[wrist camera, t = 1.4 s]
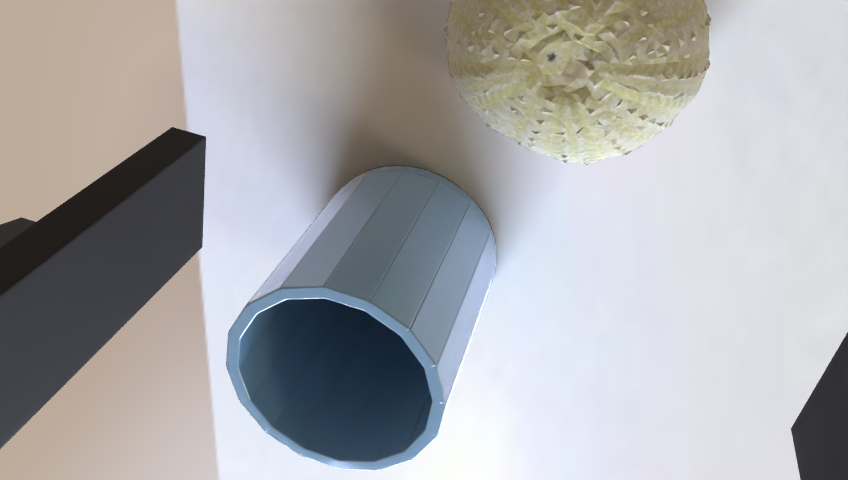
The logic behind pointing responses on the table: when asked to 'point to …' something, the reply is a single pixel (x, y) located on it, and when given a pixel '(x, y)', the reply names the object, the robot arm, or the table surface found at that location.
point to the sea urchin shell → (578, 69)
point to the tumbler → (367, 321)
